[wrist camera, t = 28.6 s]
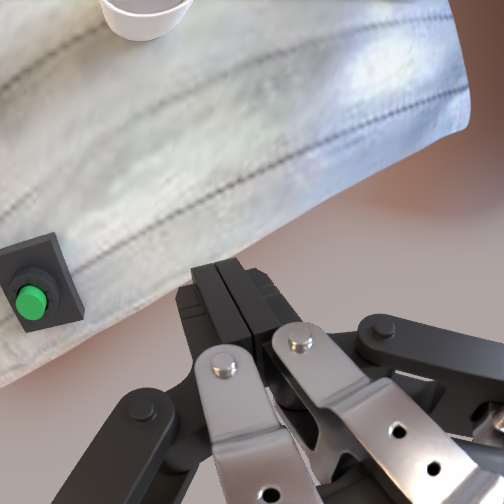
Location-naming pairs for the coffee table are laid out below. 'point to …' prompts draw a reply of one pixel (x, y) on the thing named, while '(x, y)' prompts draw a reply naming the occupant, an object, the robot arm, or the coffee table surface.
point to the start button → (31, 302)
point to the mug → (143, 17)
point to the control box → (40, 281)
